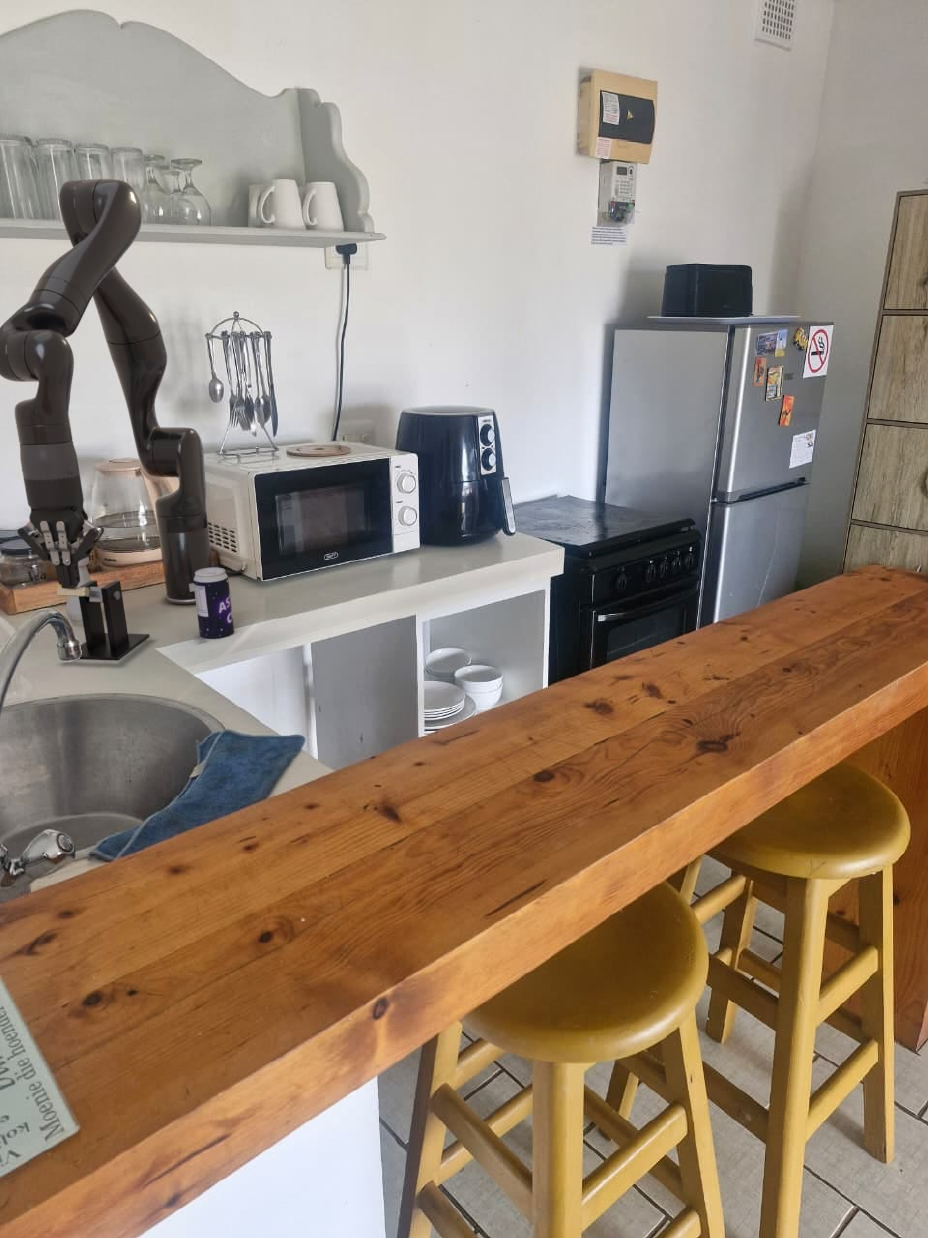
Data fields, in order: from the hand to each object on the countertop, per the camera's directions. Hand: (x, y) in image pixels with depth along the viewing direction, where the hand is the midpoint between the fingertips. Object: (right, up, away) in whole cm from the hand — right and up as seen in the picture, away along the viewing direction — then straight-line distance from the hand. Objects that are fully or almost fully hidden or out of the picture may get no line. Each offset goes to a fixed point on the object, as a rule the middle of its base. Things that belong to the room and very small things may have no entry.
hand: (70, 587), depth 132 cm
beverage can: (+17, -8, +18) cm, 26 cm away
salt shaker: (-10, -5, +28) cm, 30 cm away
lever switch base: (+1, -10, +12) cm, 16 cm away
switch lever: (+1, -2, +5) cm, 6 cm away
